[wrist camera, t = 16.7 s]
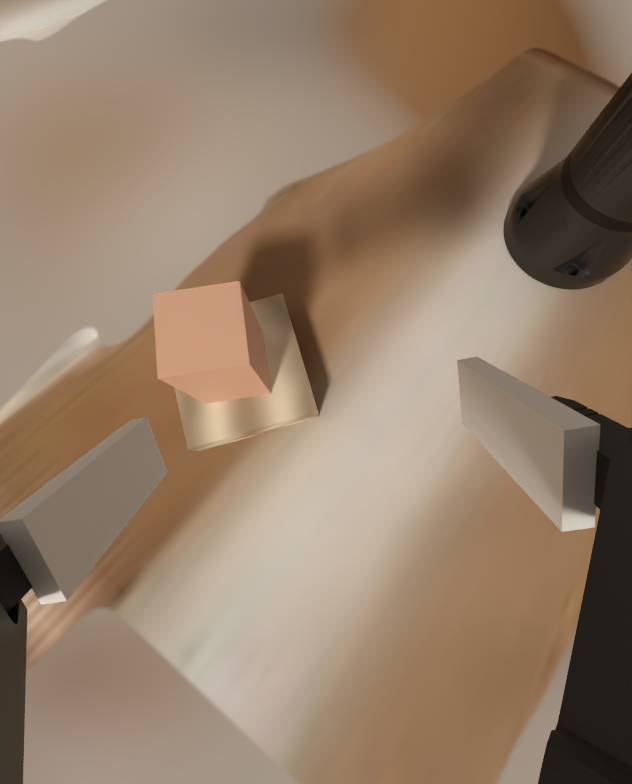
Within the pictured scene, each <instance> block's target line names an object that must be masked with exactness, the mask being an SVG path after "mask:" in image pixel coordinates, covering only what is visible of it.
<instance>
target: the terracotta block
mask: <svg viewBox="0 0 632 784" xmlns="http://www.w3.org/2000/svg"><path fill="white" fill-rule="evenodd" d="M153 309H154V325H155V341H156V357H157V373H158V379H160V380H162V381H164V382H166V383H167V384H169V385H171V386H173V387H175V388H177V389H179V390H181V391H182V392H184V393H186V394H188V395H190V396H192V397H194V398H195V399H197V400H199V401H201V402H203V403H205V404H207V403H214V402H220V401H227V400H233V399H240V398H246V397H252V396H259V395H265V394H271V391H270V383H269V375H268V368H267V360H266V352H265V344H264V337H263V331H262V329H261V327H260V325H259V322H258V320H257V318H256V316H255V314H254V311H253V309H252V307H251V305H250V303H249V300H248V298H247V296H246V294H245V292H244V289H243V287H242V285H241V283H240V281H236V282H229V283H222V284H216V285H209V286H203V287H196V288H190V289H183V290H176V291H170V292H163V293H157V294H153Z"/></svg>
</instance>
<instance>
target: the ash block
mask: <svg viewBox="0 0 632 784" xmlns="http://www.w3.org/2000/svg"><path fill="white" fill-rule="evenodd" d="M249 303H250V305H251V307H252V309H253V311H254V314H255V316H256V318H257V320H258V322H259V325H260V327H261V329H262V331H263V337H264V344H265V352H266V360H267V368H268V375H269V383H270V391H271V394H265V395H259V396H252V397H246V398H240V399H233V400H227V401H220V402H214V403H207V404H205V403H203V402H201V401H199V400H197V399H195V398H194V397H192V396H190V395H188V394H186V393H184V392H182V391H181V390H179V389H177V388H175V392H176V397H177V401H178V406H179V411H180V415H181V420H182V424H183V429H184V434H185V438H186V443H187V448H188V449H190V450H198V451H205V450H208V449H211V448H215V447H218V446H221V445H225V444H228V443H231V442H235V441H238V440H242V439H245V438H248V437H252V436H255V435H258V434H262V433H265V432H269V431H272V430H275V429H279V428H282V427H285V426H289V425H292V424H296V423H299V422H302V421H306V420H309V419H312V418H316V417H319V416H318V410H317V406H316V403H315V400H314V396H313V393H312V390H311V386H310V383H309V380H308V376H307V373H306V370H305V366H304V363H303V360H302V356H301V353H300V350H299V346H298V343H297V340H296V336H295V333H294V330H293V326H292V323H291V320H290V316H289V313H288V310H287V306H286V303H285V299H284V296H283V293H281V294H277V295H274V296H270V297H267V298H263V299H259V300H256V301H252V302H249Z"/></svg>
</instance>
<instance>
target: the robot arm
mask: <svg viewBox="0 0 632 784" xmlns="http://www.w3.org/2000/svg"><path fill="white" fill-rule="evenodd" d="M504 237H505V242H506V245H507V248H508V250H509V253H510V254H511V256H512V258H513V259H514V261H515V262H516V263H517V265H518V266H519V267H520V268H521V269H522V270H523V271H524V272H526V273H527V274H528V275H530V276H531V277H532V278H534V279H536V280H538V281H540V282H542V283H544V284H546V285H549V286H552V287H556V288H562V289H582V288H588V287H591V286H594V285H597V284H599V283H601V282H603V281H604V280H606V279H607V278H609V277H610V276H612V275H613V274H615V273H616V272H618V271H619V270H620V269H622V268H623V267H624V266H625V265H626V264H627V263H628V262H629V261H630V260H631V258H632V74H631V75H630V76H629V77H628V79H627V80H626V81H625V83H624V84H623V85H622V86H621V88H620V89H619V90H618V91H617V93H616V94H615V95H614V97H613V98H612V99H611V100H610V102H609V103H608V104H607V106H606V107H605V108H604V110H603V111H602V112H601V113H600V115H599V116H598V117H597V119H596V120H595V121H594V122H593V124H592V125H591V126H590V128H589V129H588V130H587V132H586V133H585V134H584V135H583V137H582V138H581V139H580V141H579V142H578V143H577V145H576V146H575V147H574V149H573V150H572V151H571V152H570V154H569V155H568V156H567V157H566V158H565V159H564V160H562V161H561V162H560V163H558V164H557V165H555V166H554V167H553V168H551V169H550V170H548V171H547V172H546V173H544V174H543V175H542V176H540V177H539V178H537V179H536V180H535V181H533V182H532V183H530V184H529V185H528V186H527V187H526V188H525V189H524V190H523V191H522V192H521V194H520V195H519V196H518V198H517V199H516V200H515V202H514V203H513V205H512V206H511V208H510V209H509V211H508V213H507V216H506V219H505V224H504ZM457 361H458V374H459V388H460V401H461V414H462V423H463V425H464V426H465V427H466V428H467V429H468V430H469V431H470V432H471V433H472V434H473V435H474V437H475V438H476V439H477V440H478V441H479V442H480V443H481V444H482V445H483V446H484V447H485V449H486V450H487V451H488V452H489V453H490V454H491V455H492V456H493V457H494V458H495V459H496V461H497V462H498V463H499V464H500V465H501V466H502V467H503V468H504V469H505V470H506V471H507V473H508V474H509V475H510V476H511V477H512V478H513V479H514V480H515V481H516V482H517V483H518V485H519V486H520V487H521V488H522V489H523V490H524V491H525V492H526V493H527V494H528V495H529V497H530V498H531V499H532V500H533V501H534V502H535V503H536V504H537V505H538V506H539V507H540V509H541V510H542V511H543V512H544V513H545V514H546V515H547V516H548V517H549V518H550V519H551V521H552V522H553V523H554V524H555V525H556V526H557V527H558V528H559V529H560V530H561V531H562V532H564V531H571V530H579V529H586V528H593V527H595V512H596V506H597V507H598V508H599V509H600V514H599V519H598V524H597V529H596V534H595V539H594V544H593V549H592V554H591V559H590V565H589V570H588V575H587V580H586V585H585V590H584V595H583V600H582V605H581V610H580V615H579V620H578V625H577V630H576V635H575V640H574V645H573V650H572V655H571V660H570V665H569V670H568V675H567V680H566V685H565V690H564V695H563V701H562V705H561V710H560V715H559V719H558V724H557V726H556V729H555V730H552V731H551V734H550V737H549V740H548V742H547V746H546V750H545V755H544V759H543V763H542V768H541V772H540V777H539V782H538V784H632V428H627V427H625V426H623V425H621V424H619V423H617V422H615V421H613V420H611V419H609V418H607V417H605V416H603V415H601V414H598V412H596V411H594V410H592V409H587V407H586V406H584V405H582V404H580V403H578V402H576V401H574V400H570V399H566V398H562V397H558V396H554V397H549V396H547V395H546V394H544V393H542V392H540V391H538V390H537V389H535V388H533V387H531V386H529V385H527V384H526V383H524V382H522V381H520V380H518V379H517V378H515V377H513V376H511V375H509V374H507V373H506V372H504V371H502V370H500V369H498V368H497V367H495V366H493V365H491V364H489V363H487V362H486V361H484V360H482V359H480V358H478V357H473V358H468V359H462V360H457ZM167 473H168V472H167V469H166V467H165V464H164V461H163V459H162V456H161V453H160V451H159V448H158V445H157V443H156V440H155V437H154V435H153V432H152V429H151V427H150V424H149V421H148V419H147V417H145V418H139V419H134V420H130V421H128V422H127V423H126V424H124V425H123V426H122V427H121V428H119V429H118V430H117V431H115V432H114V433H113V434H111V435H110V436H109V437H107V438H106V439H105V440H103V441H102V442H101V443H99V444H98V445H97V446H95V447H94V448H93V449H91V450H90V451H89V452H88V453H86V454H85V455H84V456H82V457H81V458H80V459H78V460H77V461H76V462H74V463H73V464H72V465H70V466H69V467H68V468H66V469H65V470H64V471H62V472H61V473H60V474H58V475H57V476H56V477H55V478H53V479H52V480H51V481H49V482H48V483H47V484H45V485H44V486H43V487H41V488H40V489H39V490H37V491H36V492H35V493H33V494H32V495H31V496H29V497H28V498H27V499H25V500H24V501H23V502H21V503H20V504H19V505H18V506H16V507H15V508H14V509H12V510H11V511H10V512H8V513H7V514H6V515H4V516H3V517H2V518H0V784H23V755H24V718H25V716H24V714H25V678H26V677H25V676H26V639H27V609H26V607H25V605H24V604H23V602H22V600H21V598H22V597H23V596H24V595H25V594H26V593H27V592H28V591H29V590H30V589H31V588H32V589H33V591H34V593H35V595H36V596H37V598H38V600H39V601H40V603H41V605H42V604H49V603H56V602H63V601H67V600H68V599H69V598H70V596H71V595H72V594H73V592H74V591H75V590H76V589H77V587H78V586H79V585H80V584H81V582H82V581H83V580H84V578H85V577H86V576H87V575H88V573H89V572H90V571H91V570H92V568H93V567H94V566H95V564H96V563H97V562H98V561H99V559H100V558H101V557H102V556H103V554H104V553H105V552H106V550H107V549H108V548H109V547H110V545H111V544H112V543H113V542H114V540H115V539H116V538H117V536H118V535H119V534H120V533H121V531H122V530H123V529H124V528H125V526H126V525H127V524H128V523H129V521H130V520H131V519H132V517H133V516H134V515H135V514H136V512H137V511H138V510H139V509H140V507H141V506H142V505H143V503H144V502H145V501H146V500H147V498H148V497H149V496H150V495H151V493H152V492H153V491H154V489H155V488H156V487H157V486H158V484H159V483H160V482H161V481H162V479H163V478H164V477H165V475H166V474H167Z"/></svg>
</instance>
